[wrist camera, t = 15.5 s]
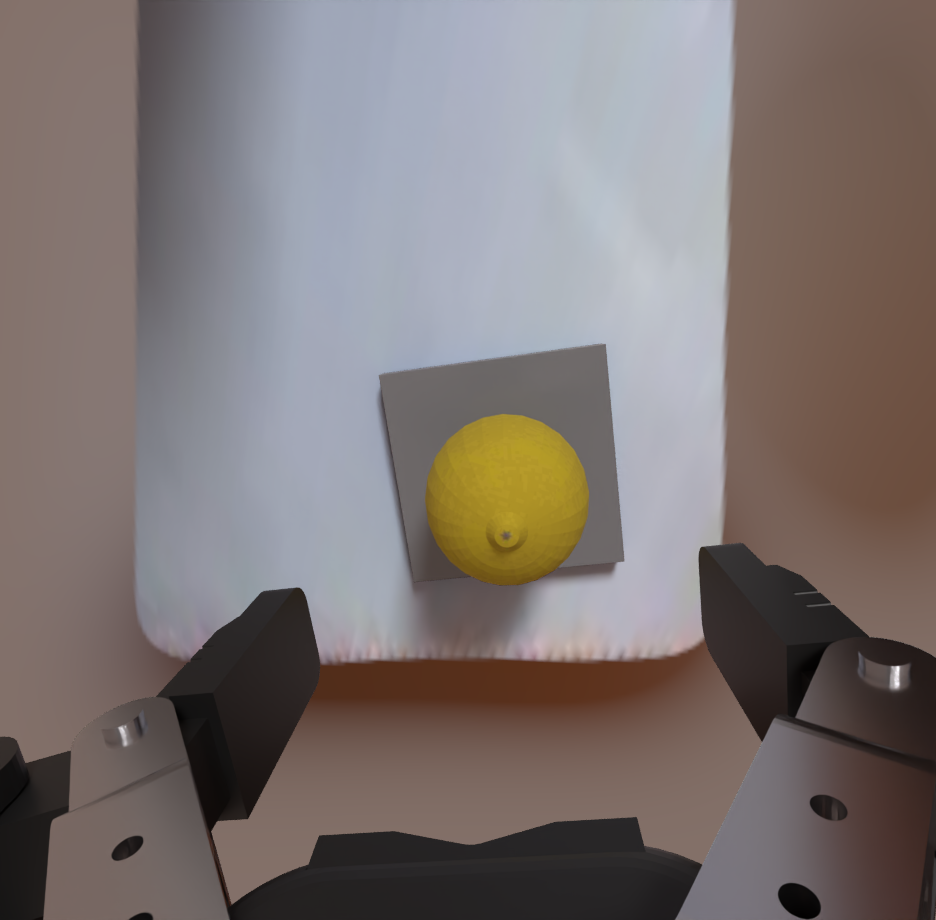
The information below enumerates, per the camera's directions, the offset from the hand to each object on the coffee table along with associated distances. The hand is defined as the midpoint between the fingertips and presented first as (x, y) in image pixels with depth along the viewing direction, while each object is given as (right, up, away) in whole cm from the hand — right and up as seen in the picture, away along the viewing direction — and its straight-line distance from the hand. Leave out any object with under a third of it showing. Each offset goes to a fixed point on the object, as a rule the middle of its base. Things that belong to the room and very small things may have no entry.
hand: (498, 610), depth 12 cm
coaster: (+1, +3, +13) cm, 14 cm away
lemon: (+1, +3, +12) cm, 13 cm away
